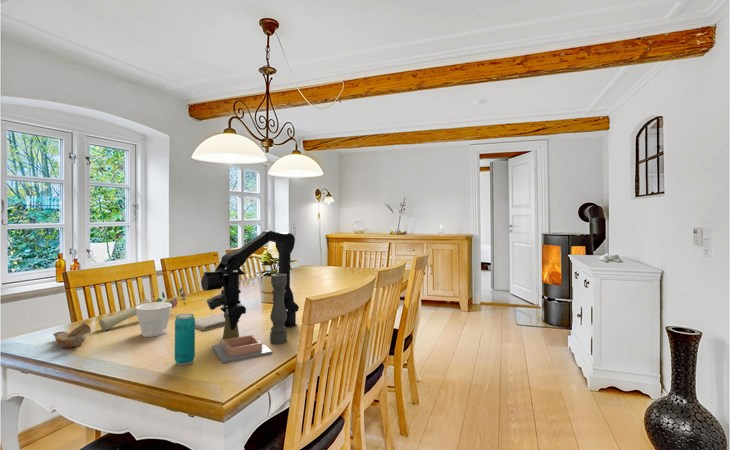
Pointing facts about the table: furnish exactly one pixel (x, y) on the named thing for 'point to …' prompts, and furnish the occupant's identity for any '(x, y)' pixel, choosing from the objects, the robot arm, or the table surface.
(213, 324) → the washcloth
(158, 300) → the flower vase
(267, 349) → the shaker socket
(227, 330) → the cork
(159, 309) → the cup
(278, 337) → the candle holder
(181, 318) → the beverage can
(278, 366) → the table surface
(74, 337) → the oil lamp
